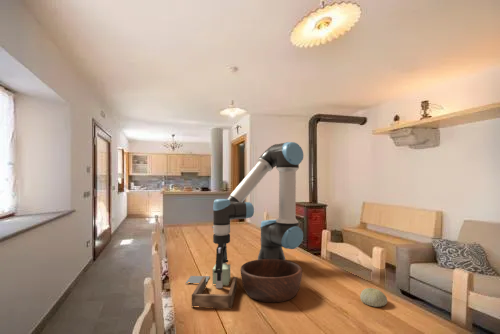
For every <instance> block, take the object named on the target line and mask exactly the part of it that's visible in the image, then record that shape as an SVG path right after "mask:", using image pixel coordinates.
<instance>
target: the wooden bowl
mask: <svg viewBox="0 0 500 334" xmlns="http://www.w3.org/2000/svg"><path fill="white" fill-rule="evenodd" d="M302 277H303V268H302V267H301V266H300V265H299V264H298V263H296V262H293V261H290V260H286V259H285V260H280V259H259V260H258V259H255V260H251V261H247V262H245V263H244V264H242V265H241V266H240V278H241V282H242V286H243V289H244V292H246V294H247V296H249V297H250V298H252V299H253V300H255V301H258V302H262V303H263V302H264V303H282V302H287V301H290V300H291V299H293V298H294V297H296V295H297V293H298V292H299V290H300V287H301V282H302Z"/></svg>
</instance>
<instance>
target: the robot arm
mask: <svg viewBox="0 0 500 334" xmlns="http://www.w3.org/2000/svg"><path fill="white" fill-rule="evenodd" d="M302 148H303V147H301V145H300V144H299V143H297V142H294V141H287V142H281V143H274V144H273V145H270V146H269V147H268V148H267V149H266V150H265V151H264V152H263V153H262V154H261V155H260V156H259V157H258V159H257V160H256V164H255V165H254V166H253V167H252V169H251V170H249V172H248V173H247V174H246V176H245V177H244V178H243V179H242V180H241V181H240V182H239V184H238V185H237V186H236V187H235V188H234V189H233V191H232V192H231V193H230V195H228V196H227V198H216V199H214V201H213V205H212V206H213V207H212V211H213V213H212V214H213V216H212V218H213V219H212V220H213V223H212V224H213V226H211V229H213V231H212V232H213V236H212V242H213V243H214V244H216V245H217V247H216V251H215V252H216V255H215V264H216V268H215V271H214V273H216V285H215V289H223V287H224V285H223V272H222V267H223V264H228V263H229V260H228V249H227V248H228V247H227V244H229V243H230V242H231V234H230V233H231V220H241V219H243V220H244V219H245V220H246V219H248V218H249V219H250V218H252V217H253V216H254V215H255V214H254V213H255V208H254V205H253V203H252V202H250V201H248V202H247V201H245V200H246V198H247V197H248V196H249V195H250V194H251V193H252V191H254V189H255V188H256V187H257V186H258V184H259V183H260V182H261V180H263V179H264V177H265V176H266V175H267V173H269V172H271V171H272V170H273V169H276V170H277V171H278V218H277V219H265V220H261V222H260V249H259V253H258V255H257V260H259V259H280V260H286V256H285V253H284V250H283V248H284V249H288V250H295V249H297V248H298V247H299V246H300V245H301V244H302V242H303V239H304V232H303V230H302V228H301V227H299V220H297V218H296V210H297V209H296V207H297V206H296V205H297V202H296V201H297V199H296V197H297V196H296V192H297V191H296V189H297V187H296V184H297V174H296V173H297V171H298V170H299V169H300V166H299V165H300V164H301V163H302V161H303V160H304V150H303V149H302ZM218 269H220V270H218Z"/></svg>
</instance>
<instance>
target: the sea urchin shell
mask: <svg viewBox="0 0 500 334" xmlns="http://www.w3.org/2000/svg"><path fill="white" fill-rule="evenodd" d="M359 298H360V301H361V302H362V303H363V304H364V305H366V306H367V305H368V306H370V307H377V308H381V307H384V306H385V305H386V304H387V303H388V298H387V296H386V294H385V293H383V291H381V290H379V289H377V288H372V287H366V288H364V289H363V290H361V293H360V295H359Z"/></svg>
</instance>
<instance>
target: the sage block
mask: <svg viewBox="0 0 500 334" xmlns="http://www.w3.org/2000/svg"><path fill="white" fill-rule="evenodd" d="M215 268H216V263H215V264H214V266H213V267H212V285H213V284H216V273H214V271H215ZM218 270H220V269H218ZM222 272H223V286H229V285H230V283H231V264H230V263H229V264H228V263H227V264H223V267H222ZM229 282H230V283H229Z"/></svg>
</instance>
